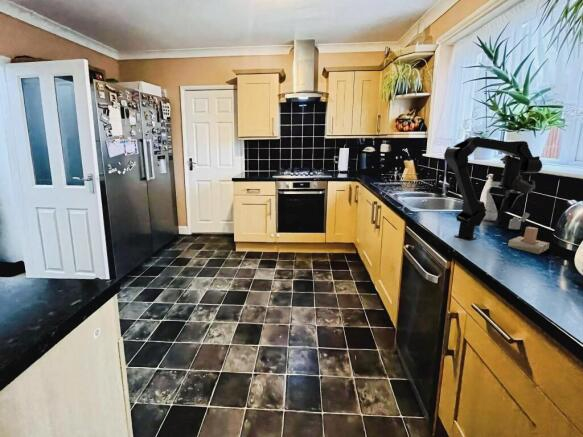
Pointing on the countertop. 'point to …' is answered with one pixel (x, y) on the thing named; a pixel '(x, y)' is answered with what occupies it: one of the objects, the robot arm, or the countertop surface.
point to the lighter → (517, 221)
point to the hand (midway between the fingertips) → (504, 210)
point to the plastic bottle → (490, 205)
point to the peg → (530, 235)
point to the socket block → (528, 245)
